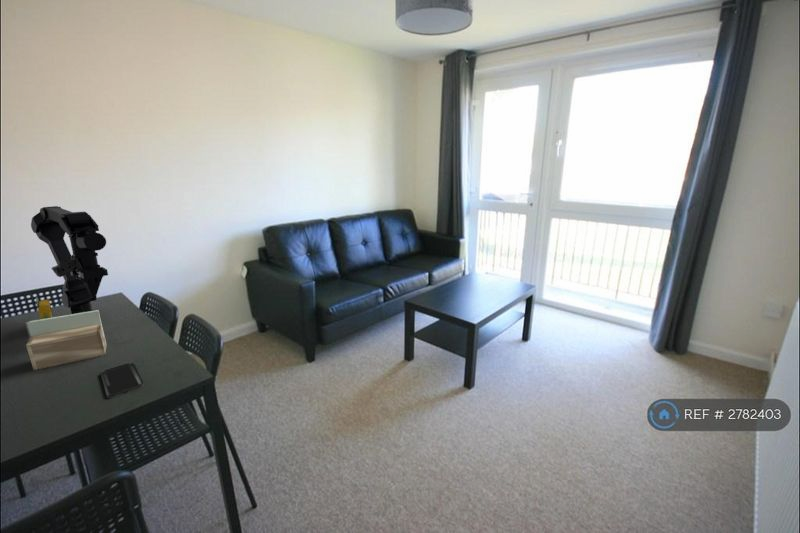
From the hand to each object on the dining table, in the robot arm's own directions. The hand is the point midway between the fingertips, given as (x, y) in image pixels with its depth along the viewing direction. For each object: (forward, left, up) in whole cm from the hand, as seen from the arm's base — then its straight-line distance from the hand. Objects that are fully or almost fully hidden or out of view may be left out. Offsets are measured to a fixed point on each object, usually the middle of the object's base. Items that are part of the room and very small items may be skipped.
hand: (93, 296), depth 123 cm
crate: (+18, +1, -13) cm, 22 cm away
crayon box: (-5, -18, -13) cm, 22 cm away
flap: (+15, -1, -13) cm, 19 cm away
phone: (+33, +20, -13) cm, 41 cm away
